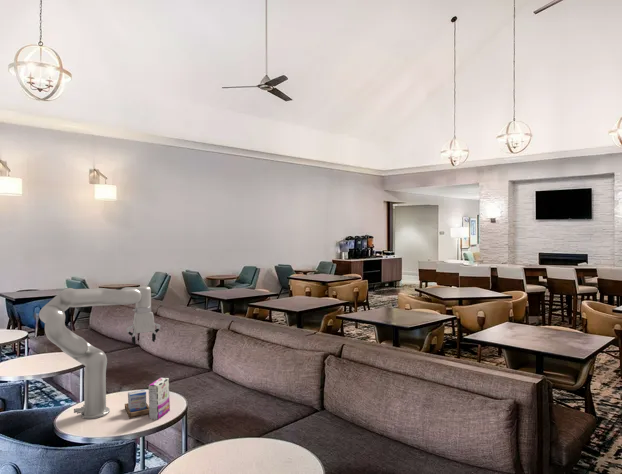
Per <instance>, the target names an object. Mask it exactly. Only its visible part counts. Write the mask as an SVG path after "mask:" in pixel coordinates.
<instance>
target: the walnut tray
mask: <svg viewBox="0 0 622 474" xmlns="http://www.w3.org/2000/svg"><path fill="white" fill-rule="evenodd" d="M124 410H125V412H126V415H127V417H128V419H129V420H131V419H136V418H140V417H145V416H149V403H147V402H146V409H145V410H140V411H135V412H130V410H129V408H128V402H127V403H124Z"/></svg>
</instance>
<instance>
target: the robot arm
mask: <svg viewBox="0 0 622 474" xmlns="http://www.w3.org/2000/svg"><path fill="white" fill-rule="evenodd" d="M121 305H123V306H124V305H125V306H126V305H135V308H132V311H133V312H134V315H133V321H132V322H133V323H132V325H130V326H128V327H127V328H125V331H126V332H127V334H128V335H129V336H131V343H132V344H133V345H136V335H137V334H142V333H150V332H151V333H152V334H151V341H152V342H153V343H155V342H156V340H157V338H156V336H157V335H156V334H157V333H158V332H159V331H160V329H161V327H162V325H161V324H159V323H156V322H155V317H154V312H153V311H152V289H151V287H150V286H147V285H146V286H145V285H143V286H138V287H136V286H135V287H133V286H132V287H131V286H130V287H129V286H125V287H122V288H121V289H113V288H106V287H105V288H103V287H94V288H72V287H68V288H64V289H63V290H62V291H60V292H59V293H57V294H56V296H54V297H53V298H52V299H51V300H49V302H47V303H46V304H45V305H44V306H42V308H41V309H40V310H39V314H38V317H39V319H40V321H41V322H42V323H44V333H45V336H46V338H47V339H48V340H49V341H50V342H51V343H52V344H54V345H55V346H57V348H59V349H60V350H61V351H62V352H63V353H65V354H66V355H67V356H68V357H70V358H72V359H74V360H75V361H77V362H78V363H79V364H81V365H83V366H84V367H85V369H84V376H83V385H84V387H83V391H84V392H83V394H84V395H83V397H84V399H83V400H84V404H82V405H83V406H81V407H77V408H73V413H74V414H77V415H78V414H80V416H81V418H82V419H87V420H90V419H97V418H102V417H105V416H106V415H108V414H109V413H110V408H109V407H108V406H107V388H106V387H107V386H106V385H107V382H106V381H107V380H106V378H107V377H106V376H107V375H106V373H107V363H108V357H107V355H106V353H105V352H104V351H103V350H102V349H100V348H98V347H95V346H94V345H92V344H90V343H89V342H88V341H87V340H86V339H85V338H84V337H82V336H79V335H78V334H76V333H75V332H73V331H72V330H70V329H69V328H68V327H67V325H66V323H65V322H66V313H65V312H66V311H67V310H68V309H70V308H81V307H83V308H86V307H97V306H121ZM155 327H156V328H155ZM131 330H133V332H131Z"/></svg>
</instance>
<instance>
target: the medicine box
mask: <svg viewBox="0 0 622 474" xmlns="http://www.w3.org/2000/svg"><path fill="white" fill-rule="evenodd" d="M127 403H128V408H129V410H130V412H135V411H140V410H145V409H146V403H147V391H146V390H145V389H142V390H141V389H140V390H136V391H130V392H127Z"/></svg>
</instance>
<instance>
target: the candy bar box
mask: <svg viewBox="0 0 622 474" xmlns="http://www.w3.org/2000/svg"><path fill="white" fill-rule="evenodd" d="M170 403H171V402H170V378H169V377H159V378H158V379H157V380H154V381H153V382H152V383H150V384H149V385H148V406H149V415H148V417H149V418H148V419H149V420H154V419H155V420H157V421H159V420H160V419H161V418H163V417H164V416H165V415H166V414H167V413H169V412H170V410H171V407H170V406H171V405H170Z"/></svg>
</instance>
